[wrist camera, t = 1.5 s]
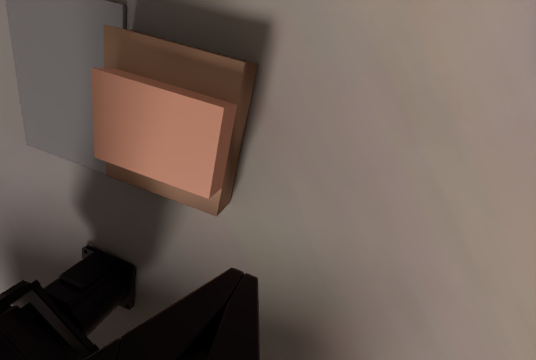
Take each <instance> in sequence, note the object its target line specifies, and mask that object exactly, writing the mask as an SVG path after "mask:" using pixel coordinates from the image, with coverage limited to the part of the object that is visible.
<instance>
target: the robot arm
mask: <svg viewBox="0 0 536 360" xmlns="http://www.w3.org/2000/svg"><path fill="white" fill-rule="evenodd" d="M82 259H83V260H81V261H80V262H78V263H77V264H75V265H74V266H72V267H71V268H70V269H68V270H67V271H65V272H64V273H62V274H61V275H60V276H59V278H58V279H57V280H55V281H54V282H52V283H51V284H49V285H48V286H46V287H45V288H44V289H43V288H42V287H41V286H40V283H39V282H38V280H36V281H34V282H32V283H30V282H29V283H28V282H26V281H24V280H22V281H21V282H19V283H18V284H16V285H14V286H13V287H11V288H10V289H8V290H6V291H5V292H3V293H1V294H0V360H260V346H259V300H258V278H257V277H255V276H252V275H250V274H247V273H246V274H244V272H242V271H240V270H237V269H235V268H230V269H228V270H227V271H225V272H224V273H222V274H220V275H219V276H217V277H216V278H214V279H212V280H211V281H209V282H208V283H206V284H204V285H203V286H201V287H200V288H198V289H196V290H195V291H193V292H192V293H190V294H188V295H187V296H185V297H184V298H182V299H180V300H179V301H177V302H176V303H174V304H172V305H171V306H169V307H168V308H166V309H164V310H163V311H161V312H160V313H158V314H156V315H155V316H153V317H152V318H150V319H148V320H147V321H145V322H144V323H142V324H140V325H139V326H137V327H136V328H134V329H132V330H131V331H129V332H128V333H126V334H124V335H123V336H122V337H121V339H120V338H118V339H116V340H114V341H113V342H111V343H110V344H108V345H106V346H105V347H103V348H102V349H100V350H99V348H98V347H97V346H96V345H94V344H93V343H92V342H91V341H90V340H89V339H88V338H87V336H88V335H89V334H90V333H91V332H92V331H93V330H94V329H95V328H96V327H97V326H98V325H99V324H100V323H101V322H102V321H103V320H104V319H105V318H106V317H107V316H108V315H109V314H110V313H111V312H112V311H113V310H114V309H115V308H116V307H117V306H118V305H120V306H122V307H124V308H126V309H129V310H130V309H132V307H133V306H134V292H135V267H134V266H133V265H132V264H129V263H127V262H125V261H122V260H120V259H118V258H116V257H113V256H111V255H109V254H106V253H104V252H102V251H99V250H97V249H95V248H92V247H90V246H85V247H83V248H82ZM12 304H14V306H12V307H11V306H10V305H12Z"/></svg>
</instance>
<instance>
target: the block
mask: <svg viewBox="0 0 536 360" xmlns="http://www.w3.org/2000/svg"><path fill="white" fill-rule="evenodd" d="M91 81H92V108H93V134H94V157H95V158H98V159H101V160H103V161H106V162H109V163H111V164H114V165H117V166H120V167H122V168H125V169H128V170H131V171H133V172H136V173H139V174H142V175H144V176H147V177H150V178H153V179H155V180H158V181H161V182H163V183H166V184H169V185H172V186H174V187H177V188H180V189H183V190H185V191H188V192H191V193H194V194H196V195H199V196H202V197H205V198H207V199H210V198H211V197H212V196H213V195H214V194H215V193H217V192H218V191H219V190H220V189H221V188H222V185H223V179H224V174H225V168H226V163H227V158H228V152H229V147H230V141H231V136H232V130H233V125H234V120H235V114H236V109H237V104H233V103H230V102H227V101H223V100H220V99H216V98H213V97H210V96H206V95H203V94H200V93H196V92H193V91H190V90H186V89H183V88H180V87H176V86H173V85H169V84H166V83H163V82H159V81H156V80H153V79H149V78H146V77H143V76H139V75H136V74H132V73H129V72H126V71H122V70H119V69H111V68H91Z"/></svg>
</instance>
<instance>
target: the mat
mask: <svg viewBox="0 0 536 360" xmlns="http://www.w3.org/2000/svg"><path fill="white" fill-rule="evenodd" d="M5 1H6V8H7V15H8V21H9V28H10V35H11V42H12V48H13V55H14V62H15V69H16V76H17V82H18V89H19V96H20V103H21V109H22V116H23V123H24V130H25V137H26V143H27V145H29V146H32V147H34V148H37V149H40V150H42V151H45V152H48V153H50V154H53V155H56V156H58V157H61V158H64V159H66V160H69V161H72V162H74V163H77V164H80V165H82V166H85V167H88V168H91V169H93V170H96V171H99V172H101V173H104V174H106V161H103V160H101V159H98V158H95V157H94V134H93V108H92V81H91V68H104V30H103V24H104V25H109V26H113V27H118V28H122V29H126V6H125V5H122V4H118V3H114V2H110V1H106V0H5Z"/></svg>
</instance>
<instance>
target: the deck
mask: <svg viewBox="0 0 536 360" xmlns="http://www.w3.org/2000/svg"><path fill="white" fill-rule="evenodd" d="M103 30H104V68H111V69H119V70H122V71H126V72H129V73H132V74H136V75H139V76H143V77H146V78H149V79H153V80H156V81H159V82H163V83H166V84H169V85H173V86H176V87H180V88H183V89H186V90H190V91H193V92H196V93H200V94H203V95H206V96H210V97H213V98H216V99H220V100H223V101H227V102H230V103H233V104H237V109H236V114H235V120H234V125H233V130H232V136H231V141H230V147H229V152H228V158H227V163H226V168H225V174H224V179H223V185H222V188H221V189H220V190H219V191H218V192H217V193H215V194H214V195H213V196H212V197H211V198H210V199H207V198H205V197H202V196H199V195H196V194H194V193H191V192H188V191H185V190H183V189H180V188H177V187H174V186H172V185H169V184H166V183H163V182H161V181H158V180H155V179H153V178H150V177H147V176H144V175H142V174H139V173H136V172H133V171H131V170H128V169H125V168H122V167H120V166H117V165H114V164H111V163H109V162H106V175H107V176H110V177H113V178H115V179H118V180H121V181H123V182H126V183H129V184H131V185H134V186H137V187H139V188H142V189H145V190H147V191H150V192H153V193H155V194H158V195H161V196H163V197H166V198H169V199H171V200H174V201H177V202H179V203H182V204H185V205H187V206H190V207H193V208H195V209H198V210H201V211H203V212H206V213H209V214H211V215H214V216H218V214H219V213H220V212H221V211H222V210H223V209H224V208H225V207H226V206H227V205H228V204H229V203H230V199H231V194H232V189H233V184H234V179H235V174H236V169H237V164H238V160H239V155H240V150H241V145H242V140H243V135H244V130H245V125H246V120H247V115H248V110H249V105H250V101H251V96H252V91H253V86H254V81H255V76H256V71H257V66H258V64H254V63H251V62H247V61H243V60H239V59H236V58H232V57H228V56H224V55H221V54H217V53H213V52H209V51H206V50H202V49H198V48H195V47H191V46H187V45H183V44H180V43H176V42H172V41H168V40H165V39H161V38H157V37H153V36H150V35H146V34H142V33H139V32H135V31H131V30H126V29H122V28H118V27H113V26H109V25H104V24H103Z"/></svg>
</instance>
